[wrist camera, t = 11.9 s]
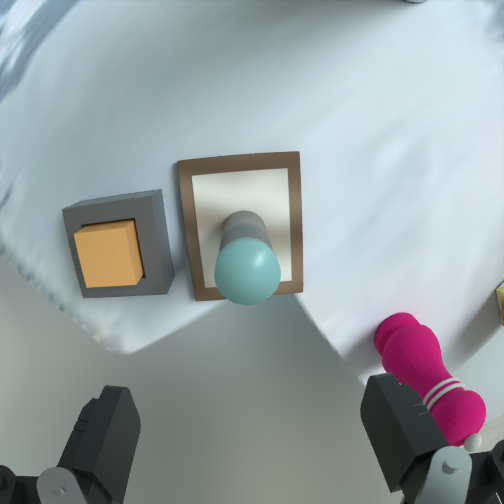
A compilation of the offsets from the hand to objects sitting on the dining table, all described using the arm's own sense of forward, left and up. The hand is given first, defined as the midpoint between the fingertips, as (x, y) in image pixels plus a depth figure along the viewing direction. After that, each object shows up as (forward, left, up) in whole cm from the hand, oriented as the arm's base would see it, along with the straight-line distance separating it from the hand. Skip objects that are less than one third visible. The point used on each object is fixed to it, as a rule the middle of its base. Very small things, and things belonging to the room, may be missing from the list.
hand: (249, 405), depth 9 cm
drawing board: (0, +1, -22) cm, 22 cm away
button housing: (0, -11, -22) cm, 25 cm away
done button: (0, -12, -20) cm, 23 cm away
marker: (0, +1, -21) cm, 21 cm away
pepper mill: (+15, +19, -22) cm, 33 cm away
